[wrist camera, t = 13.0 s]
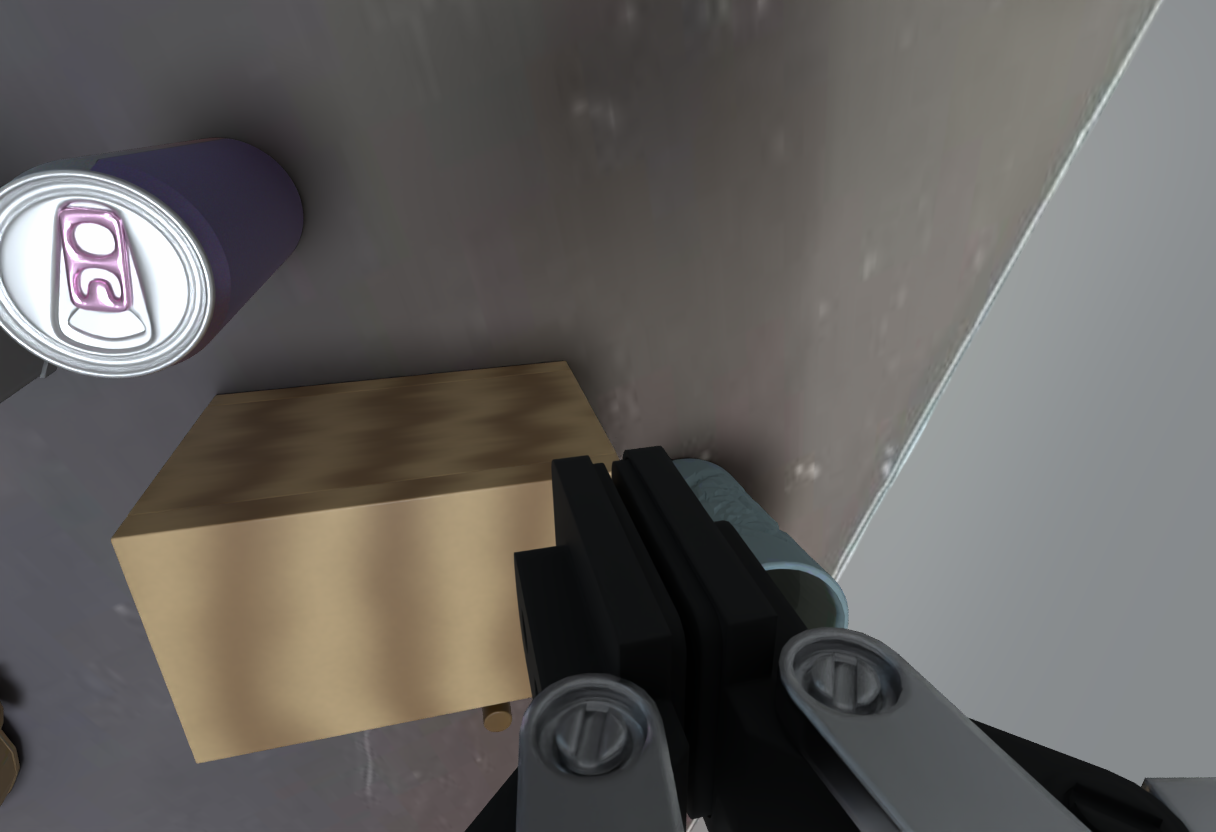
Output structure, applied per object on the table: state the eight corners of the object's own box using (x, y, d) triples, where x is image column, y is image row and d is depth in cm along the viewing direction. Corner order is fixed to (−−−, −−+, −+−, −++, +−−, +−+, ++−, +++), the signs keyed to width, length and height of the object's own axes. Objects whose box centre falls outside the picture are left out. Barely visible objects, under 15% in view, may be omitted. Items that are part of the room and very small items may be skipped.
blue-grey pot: (752, 437, 43) (858, 545, 33) (749, 566, 48) (842, 699, 37) (596, 464, 41) (655, 589, 31) (608, 596, 46) (662, 745, 35)
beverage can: (305, 148, 31) (213, 179, 18) (306, 278, 33) (226, 392, 20) (155, 126, 30) (-68, 143, 16) (167, 264, 32) (-20, 379, 18)
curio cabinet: (566, 360, 38) (625, 470, 27) (574, 538, 43) (627, 695, 32) (214, 394, 35) (109, 539, 23) (267, 584, 40) (202, 781, 28)
